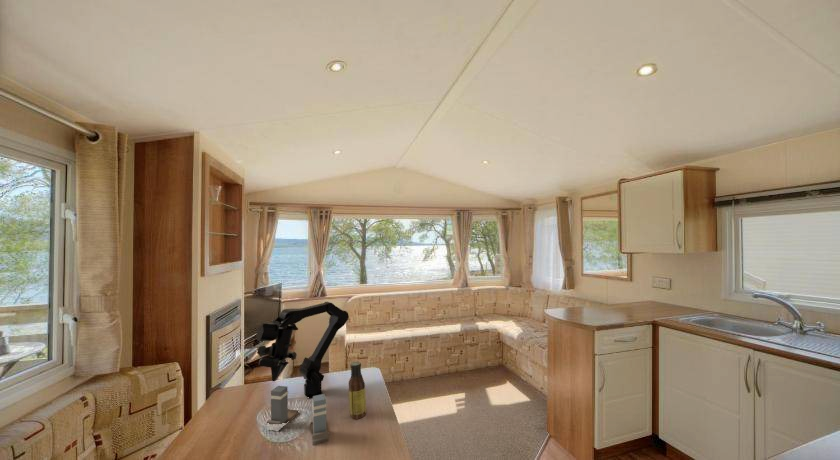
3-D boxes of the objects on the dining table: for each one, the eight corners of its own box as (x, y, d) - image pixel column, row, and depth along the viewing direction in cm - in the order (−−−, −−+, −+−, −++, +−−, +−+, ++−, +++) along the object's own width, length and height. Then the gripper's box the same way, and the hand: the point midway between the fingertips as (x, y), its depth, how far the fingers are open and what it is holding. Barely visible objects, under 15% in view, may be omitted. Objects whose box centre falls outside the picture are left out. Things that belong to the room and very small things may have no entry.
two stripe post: (312, 430, 106) (312, 396, 107) (325, 427, 108) (325, 393, 108) (313, 438, 102) (313, 402, 103) (326, 434, 104) (326, 399, 104)
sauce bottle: (369, 412, 119) (368, 361, 119) (359, 421, 113) (358, 367, 114) (355, 409, 122) (354, 359, 122) (345, 417, 116) (344, 365, 117)
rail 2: (310, 425, 111) (310, 417, 112) (324, 421, 113) (324, 413, 114) (312, 445, 100) (312, 435, 101) (328, 440, 102) (328, 431, 103)
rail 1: (287, 411, 121) (287, 404, 121) (298, 412, 120) (298, 405, 120) (266, 430, 109) (266, 421, 109) (279, 431, 108) (278, 423, 108)
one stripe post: (278, 417, 115) (278, 385, 115) (288, 418, 114) (288, 386, 114) (270, 424, 110) (270, 391, 111) (280, 425, 110) (280, 392, 110)
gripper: (277, 335, 136) (268, 372, 132) (251, 340, 117) (240, 383, 114) (300, 339, 134) (292, 376, 131) (277, 345, 116) (267, 388, 113)
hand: (273, 380), depth 122 cm, fingers closed
